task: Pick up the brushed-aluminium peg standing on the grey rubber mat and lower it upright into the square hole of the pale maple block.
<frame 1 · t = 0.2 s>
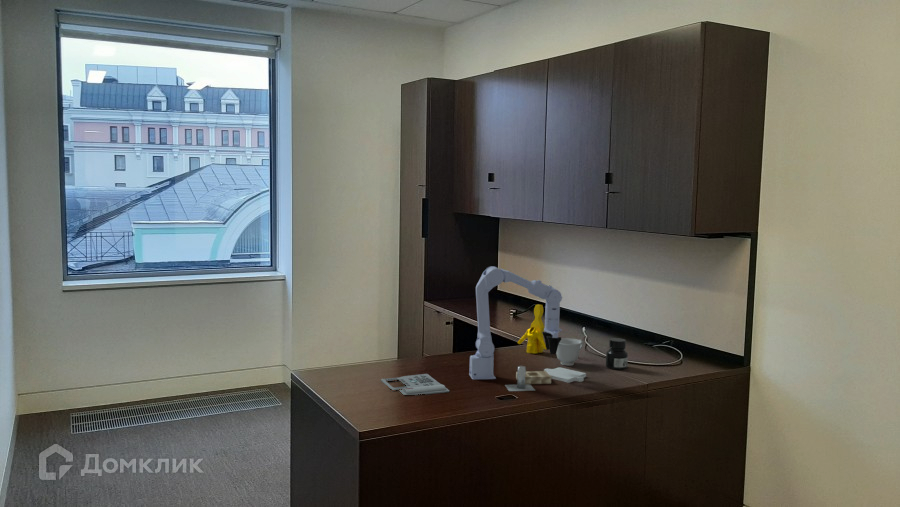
hand: (550, 351, 283), 10 cm above the table, tool pointing down, fingers open, 7 cm apart
ink bottle: (616, 368, 300), on the table
mat: (519, 388, 267), on the table
figure statuette: (534, 352, 324), on the table
hole block: (533, 381, 276), on the table
peg: (521, 387, 267), resting on mat
mounting plate: (563, 378, 284), on the table
teacup: (569, 363, 305), on the table
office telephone: (413, 388, 268), on the table
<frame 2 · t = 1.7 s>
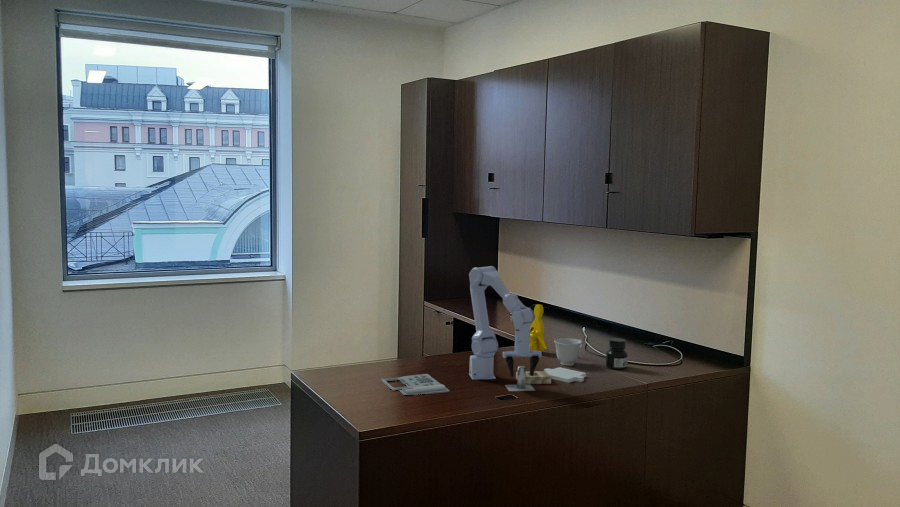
hand: (521, 375, 266), 5 cm above the table, tool pointing down, fingers open, 7 cm apart
nothing on the table moved.
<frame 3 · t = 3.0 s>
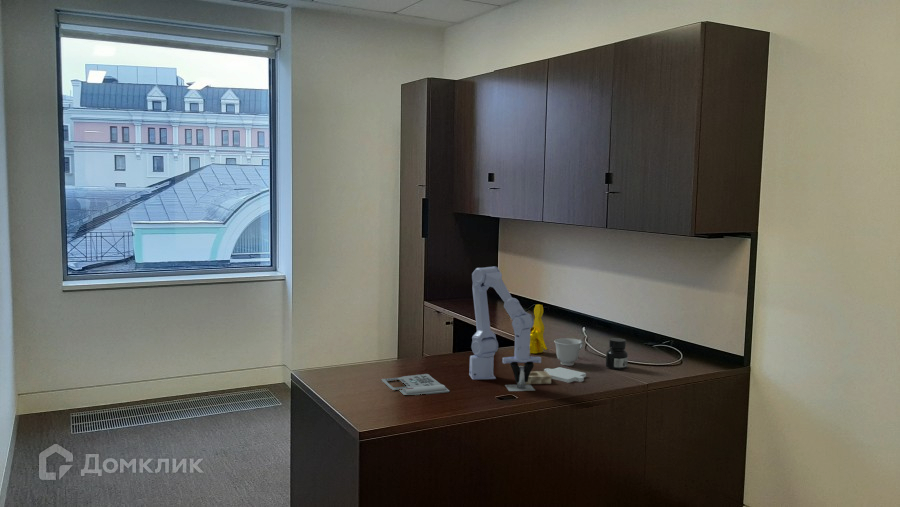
hand: (521, 381, 267), 3 cm above the table, tool pointing down, fingers closed on peg, 3 cm apart
peg: (521, 387, 267), resting on mat, touching gripper
everything else where it was.
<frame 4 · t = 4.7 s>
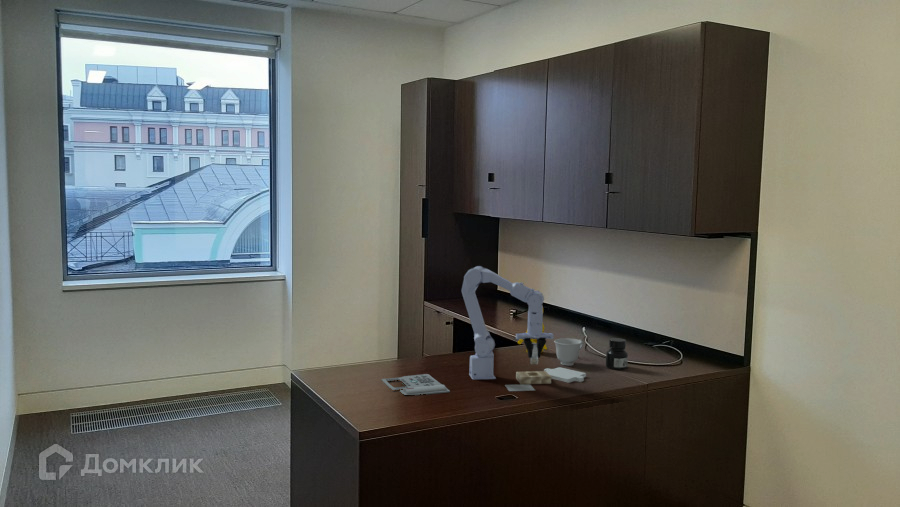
hand: (534, 357, 275), 10 cm above the table, tool pointing down, fingers closed on peg, 3 cm apart
peg: (534, 363, 275), point 7 cm above the table, touching gripper
everything else where it was.
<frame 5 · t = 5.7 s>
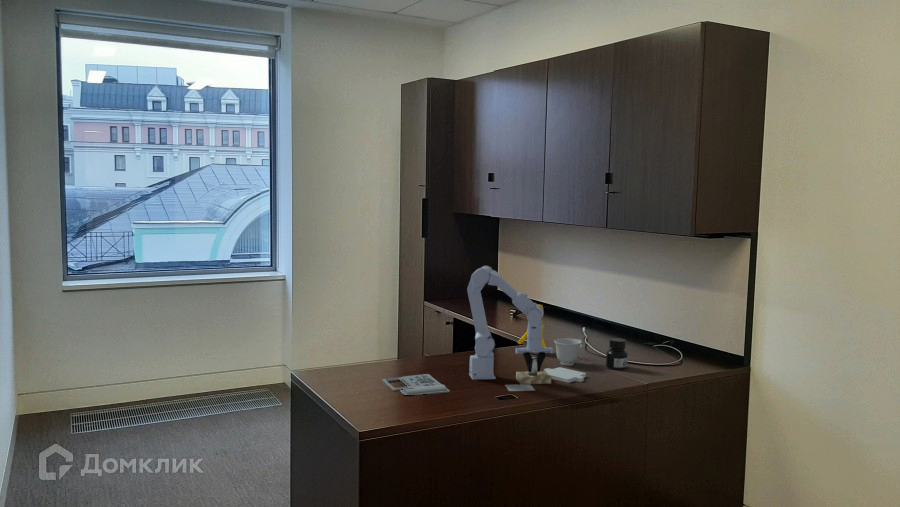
hand: (533, 371, 276), 4 cm above the table, tool pointing down, fingers closed on peg, 3 cm apart
peg: (533, 377, 276), point 2 cm above the table, touching gripper
everything else where it was.
when the fingers open (4 cm above the table, at t = 6.4 s): peg drops 2 cm, resting in hole block.
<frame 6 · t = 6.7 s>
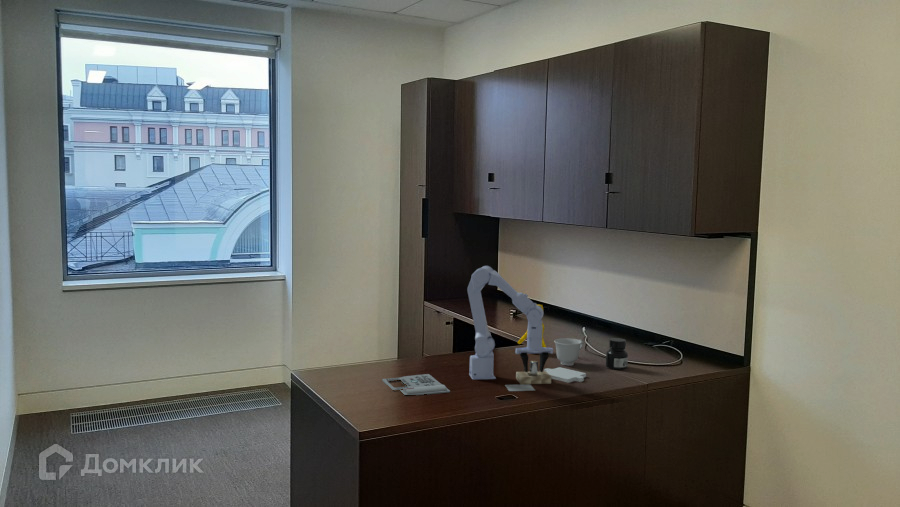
hand: (533, 371, 276), 4 cm above the table, tool pointing down, fingers open, 5 cm apart
peg: (533, 381, 276), resting in hole block
everything else where it was.
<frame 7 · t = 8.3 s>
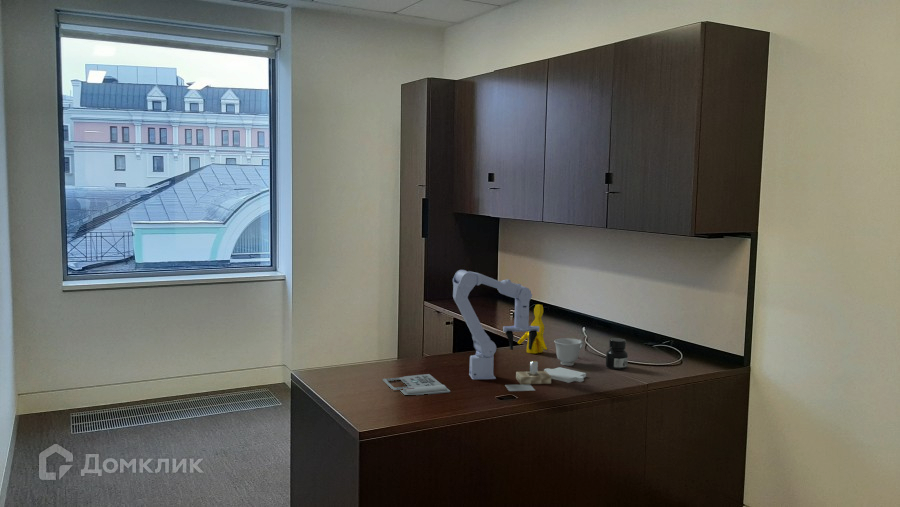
hand: (520, 349, 285), 10 cm above the table, tool pointing down, fingers open, 7 cm apart
nothing on the table moved.
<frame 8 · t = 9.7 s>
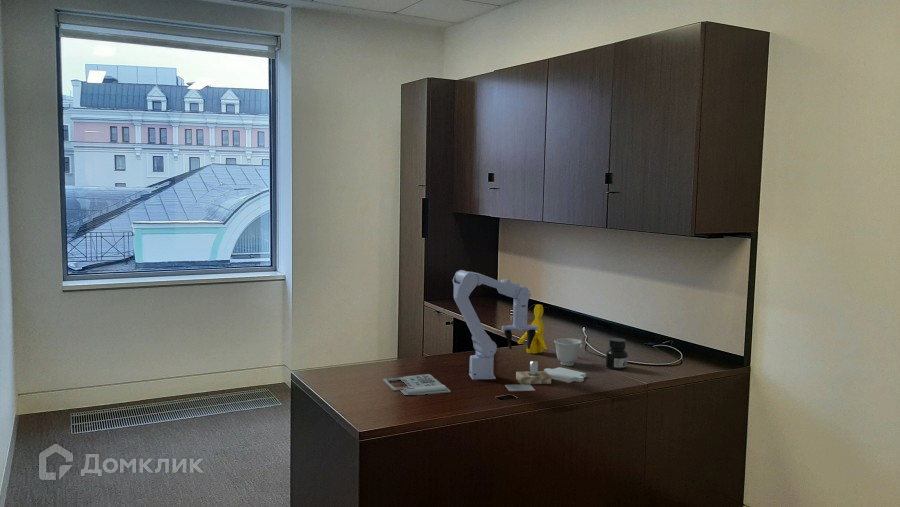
hand: (519, 348, 287), 10 cm above the table, tool pointing down, fingers open, 7 cm apart
nothing on the table moved.
at the end: peg 0.3 cm off-centre on the hole block, point 0.0 cm above the hole block's base; peg tilted 0°; the gripper is holding nothing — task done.
